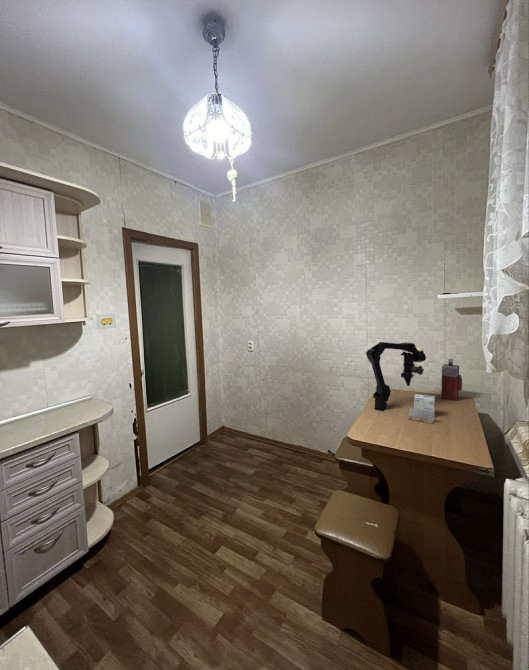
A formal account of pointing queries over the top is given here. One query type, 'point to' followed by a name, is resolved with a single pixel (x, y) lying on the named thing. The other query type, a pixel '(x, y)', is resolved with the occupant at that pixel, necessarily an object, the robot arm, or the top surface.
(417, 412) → the grey thin panel
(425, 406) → the light bulb box
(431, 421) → the shelf plank
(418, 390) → the top surface
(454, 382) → the red thermos jug
